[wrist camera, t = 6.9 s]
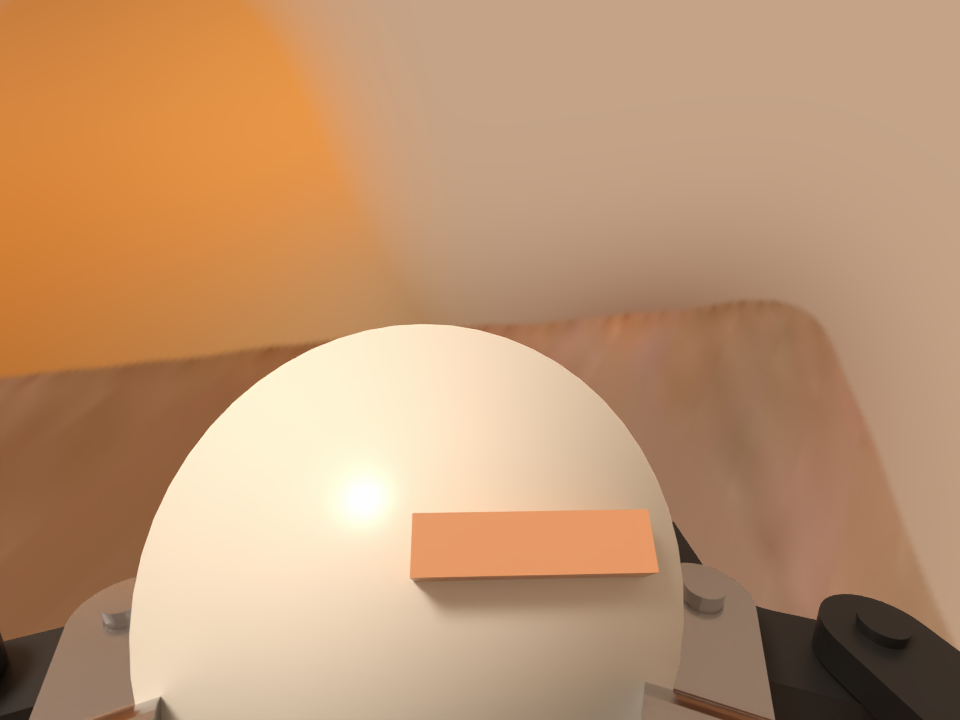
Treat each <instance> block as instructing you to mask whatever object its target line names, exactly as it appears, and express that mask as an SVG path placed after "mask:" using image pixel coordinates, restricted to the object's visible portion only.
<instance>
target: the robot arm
mask: <svg viewBox="0 0 960 720" xmlns="http://www.w3.org/2000/svg"><path fill="white" fill-rule="evenodd" d="M672 524H673V528H674V531H675V535H676V539H677V543H678V548H679V556H680V563H681V570H682V578H683V604H684V625H683V634H682V643H681V653H680V662H679V667H678V671H677V675H676V680H675V684H674V688H673V690H671V689H668V688H665V687H661V686H658V685H655V684H651V683H648V682H645V685H644V694H643V703H642V713H641V720H960V651H958V650H957V649H956V648H954V647H953V646H952V645H950V644H949V643H947V642H946V641H945V640H943V639H942V638H941V637H939V636H938V635H937V634H935V633H934V632H933V631H931V630H930V629H929V628H927V627H926V626H925V625H923V624H922V623H921V622H919V621H918V620H916V619H915V618H913V617H912V616H910V615H908V614H907V613H905V612H903V611H901V610H899V609H897V608H895V607H893V606H891V605H888V604H886V603H884V602H881V601H878V600H875V599H872V598H868V597H864V596H859V595H852V594H840V595H834V596H830V597H828V598H826V599H825V600H824V601H823V602H822V603H821V605H820V608H819V612H818V616H817V620H814V619H809V618H804V617H800V616H795V615H790V614H785V613H781V612H776V611H772V610H768V609H764V608H761V607H758V606H755V602H754V600H753V598H752V597H751V595H750V594H749V592H748V591H747V590H746V589H745V588H744V587H743V586H742V585H741V584H740V583H739V582H737V581H736V580H735V579H733V578H732V577H730V576H728V575H727V574H725V573H723V572H721V571H719V570H716V569H714V568H711V567H708V566H704V565H702V563H701V562H700V560H699V559H698V557H697V556H696V554H695V553H694V551H693V550H692V548H691V547H690V545H689V544H688V542H687V541H686V540H685V538H684V537H683V535H682V534H681V532H680V531H679V529H678V528H677V526H676V525H675V523H674V522H672ZM136 578H137V577H134V578H131V579H127V580H124V581H122V582H119V583H116V584H114V585H112V586H110V587H108V588H105V589H104V590H102V591H100V592H98V593H97V594H95V595H94V596H92V597H91V598H89V599H88V600H87V601H85V602H84V603H83V604H82V605H80V606H79V607H78V608H77V609H76V610H75V611H74V612H73V614H72V615H71V616H70V618H69V619H68V621H67V623H66V625H65V627H61V628H57V629H53V630H49V631H45V632H41V633H37V634H33V635H28V636H24V637H20V638H16V639H12V640H8V641H4V642H3V639H2V636H1V633H0V720H161V697H157V698H154V699H151V700H148V701H145V702H142V703H139V704H136V705H135V701H134V695H133V689H132V683H131V676H130V647H129V631H130V621H131V610H132V599H133V592H134V587H135V583H136Z"/></svg>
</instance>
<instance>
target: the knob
mask: <svg viewBox="0 0 960 720" xmlns="http://www.w3.org/2000/svg"><path fill="white" fill-rule="evenodd" d="M683 625H684V604H683V578H682V570H681V563H680V556H679V548H678V543H677V539H676V535H675V531H674V528H673V524H672V520H671V516H670V512H669V509H668V506H667V504H666V501H665V499H664V496H663V494H662V491H661V488H660V486H659V483H658V481H657V478H656V476H655V474H654V472H653V471H652V469H651V467H650V465H649V463H648V461H647V459H646V457H645V455H644V454H643V452H642V450H641V448H640V447H639V445H638V444H637V442H636V441H635V439H634V438H633V437H632V435H631V434H630V432H629V431H628V429H627V428H626V426H625V425H624V423H623V422H622V421H621V420H620V419H619V418H618V416H617V415H616V414H615V413H614V412H613V411H612V410H611V408H610V407H609V406H608V405H607V404H606V403H605V402H604V400H603V399H602V398H601V397H599V396H598V395H597V394H596V393H595V392H594V391H593V390H592V389H591V388H589V387H588V386H587V385H586V384H585V383H584V382H583V381H582V380H581V379H579V378H578V377H577V376H575V375H574V374H572V373H571V372H569V371H568V370H567V369H565V368H564V367H562V366H561V365H560V364H558V363H557V362H555V361H553V360H552V359H550V358H548V357H546V356H544V355H542V354H541V353H539V352H537V351H535V350H533V349H532V348H529V347H527V346H524V345H522V344H520V343H517V342H515V341H512V340H510V339H507V338H505V337H501V336H498V335H494V334H491V333H487V332H484V331H480V330H475V329H469V328H463V327H457V326H450V325H431V324H430V325H429V324H419V325H418V324H416V325H400V326H391V327H385V328H379V329H373V330H367V331H363V332H360V333H356V334H353V335H349V336H346V337H342V338H339V339H336V340H334V341H331V342H329V343H326V344H324V345H321V346H319V347H316V348H314V349H311V350H310V351H308V352H306V353H304V354H302V355H300V356H298V357H296V358H295V359H293V360H291V361H289V362H287V363H285V364H283V365H282V366H281V367H279V368H278V369H276V370H275V371H273V372H272V373H270V374H269V375H267V376H266V377H264V378H263V379H261V380H260V381H258V382H257V383H256V384H255V385H254V386H252V387H251V388H250V389H249V390H248V391H246V392H245V393H244V394H243V395H242V396H241V397H239V398H238V399H237V400H236V401H235V402H233V403H232V404H231V406H230V407H229V408H228V409H227V410H226V411H225V412H224V413H223V414H222V415H221V416H220V417H219V418H218V419H217V420H216V421H215V422H214V423H213V424H212V425H211V426H210V428H209V429H208V430H207V431H206V433H205V434H204V435H203V437H202V438H201V439H200V440H199V442H198V443H197V444H196V446H195V447H194V448H193V450H192V451H191V452H190V453H189V455H188V456H187V458H186V460H185V461H184V463H183V465H182V466H181V468H180V469H179V471H178V473H177V474H176V476H175V478H174V479H173V481H172V482H171V484H170V486H169V488H168V490H167V492H166V494H165V496H164V499H163V501H162V503H161V505H160V507H159V509H158V511H157V513H156V515H155V518H154V520H153V523H152V526H151V529H150V532H149V535H148V538H147V540H146V543H145V546H144V549H143V552H142V555H141V559H140V564H139V569H138V573H137V578H136V583H135V587H134V592H133V599H132V610H131V621H130V631H129V647H130V676H131V683H132V689H133V695H134V701H135V705H136V704H139V703H142V702H145V701H148V700H151V699H154V698H157V697H161V720H641V713H642V703H643V694H644V685H645V682H648V683H651V684H655V685H658V686H661V687H665V688H668V689H671V690H673V688H674V684H675V680H676V675H677V671H678V667H679V662H680V653H681V643H682V634H683Z"/></svg>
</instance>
